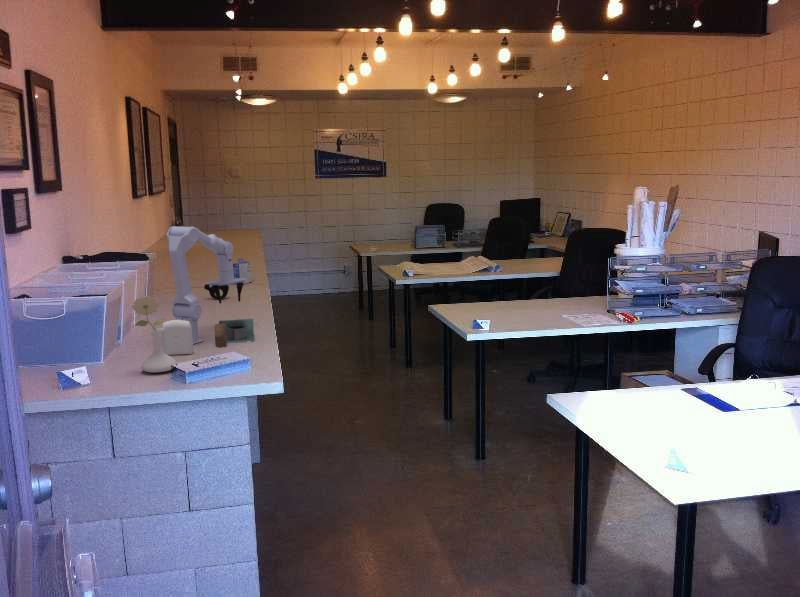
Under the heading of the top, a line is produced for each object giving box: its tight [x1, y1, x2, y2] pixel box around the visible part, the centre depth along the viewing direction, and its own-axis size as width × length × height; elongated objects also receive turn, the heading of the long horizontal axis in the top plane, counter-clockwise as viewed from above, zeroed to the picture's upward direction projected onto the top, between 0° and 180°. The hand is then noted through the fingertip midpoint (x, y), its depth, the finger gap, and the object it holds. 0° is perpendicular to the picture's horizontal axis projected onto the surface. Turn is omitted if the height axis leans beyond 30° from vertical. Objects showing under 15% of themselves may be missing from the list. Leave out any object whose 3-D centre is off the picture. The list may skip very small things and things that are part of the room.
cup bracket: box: [218, 318, 256, 344], centre depth 282 cm, size 10×13×7 cm
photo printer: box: [161, 319, 194, 356], centre depth 260 cm, size 10×4×12 cm, turn 96°
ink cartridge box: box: [232, 257, 253, 284], centre depth 419 cm, size 10×6×14 cm, turn 148°
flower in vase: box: [131, 295, 178, 373], centre depth 237 cm, size 13×11×25 cm
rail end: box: [214, 323, 228, 348], centre depth 272 cm, size 4×4×8 cm
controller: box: [203, 283, 230, 300], centre depth 369 cm, size 4×12×10 cm, turn 100°
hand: (229, 301), depth 301 cm, fingers open, 7 cm apart
